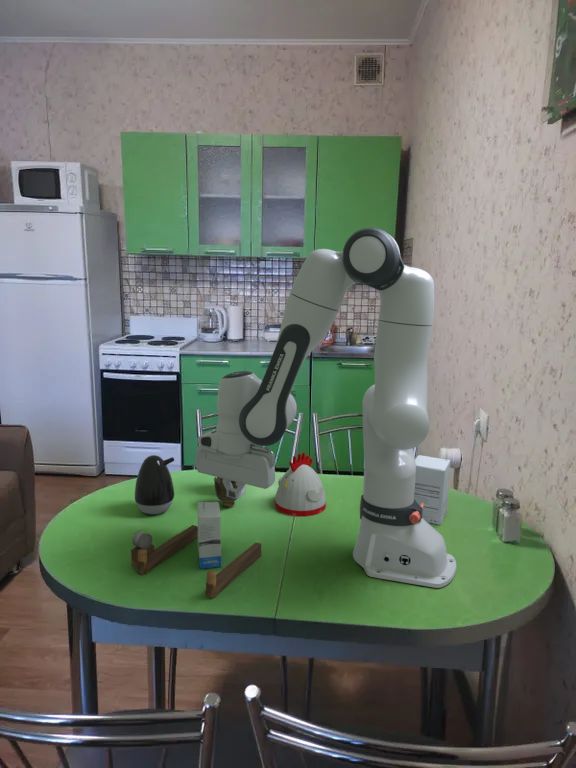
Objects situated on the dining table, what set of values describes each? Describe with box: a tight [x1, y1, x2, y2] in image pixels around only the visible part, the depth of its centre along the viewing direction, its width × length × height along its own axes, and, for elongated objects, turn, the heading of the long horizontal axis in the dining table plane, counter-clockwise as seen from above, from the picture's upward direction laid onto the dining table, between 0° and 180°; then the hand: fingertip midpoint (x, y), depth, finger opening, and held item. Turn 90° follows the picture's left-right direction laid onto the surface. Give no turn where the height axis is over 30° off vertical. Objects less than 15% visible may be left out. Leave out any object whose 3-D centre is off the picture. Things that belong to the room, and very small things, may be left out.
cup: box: [213, 476, 238, 508], centre depth 149 cm, size 8×7×8 cm
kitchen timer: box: [274, 451, 327, 517], centre depth 149 cm, size 14×14×15 cm
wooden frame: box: [130, 524, 262, 600], centre depth 120 cm, size 22×19×7 cm
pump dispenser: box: [134, 454, 175, 515], centre depth 145 cm, size 10×10×15 cm
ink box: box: [197, 501, 222, 570], centre depth 121 cm, size 9×5×12 cm, turn 9°
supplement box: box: [414, 455, 451, 526], centre depth 145 cm, size 9×9×15 cm
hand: (233, 497), depth 130 cm, fingers closed
